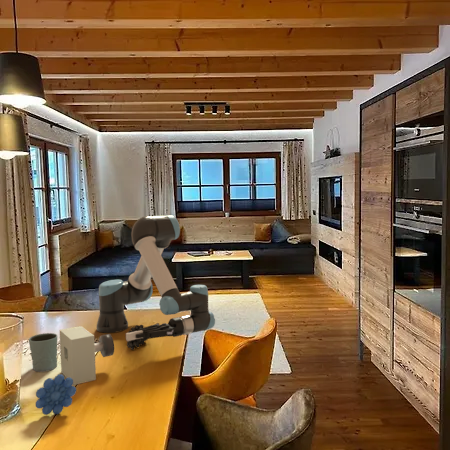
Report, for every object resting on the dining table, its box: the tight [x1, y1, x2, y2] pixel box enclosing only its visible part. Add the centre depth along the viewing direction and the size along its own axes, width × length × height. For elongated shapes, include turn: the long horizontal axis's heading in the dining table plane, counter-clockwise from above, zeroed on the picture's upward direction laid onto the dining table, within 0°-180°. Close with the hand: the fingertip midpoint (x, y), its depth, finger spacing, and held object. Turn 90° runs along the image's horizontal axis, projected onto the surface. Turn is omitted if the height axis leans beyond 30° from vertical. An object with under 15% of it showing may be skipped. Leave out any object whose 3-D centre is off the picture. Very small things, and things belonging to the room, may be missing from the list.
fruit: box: [126, 324, 149, 351], centre depth 199 cm, size 9×8×15 cm
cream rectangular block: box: [59, 325, 97, 386], centre depth 168 cm, size 15×8×16 cm, turn 35°
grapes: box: [35, 373, 77, 416], centre depth 139 cm, size 12×7×12 cm, turn 107°
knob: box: [94, 333, 115, 358], centre depth 171 cm, size 8×11×8 cm
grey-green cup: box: [28, 332, 58, 372], centre depth 176 cm, size 10×10×12 cm
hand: (126, 337), depth 178 cm, fingers closed
